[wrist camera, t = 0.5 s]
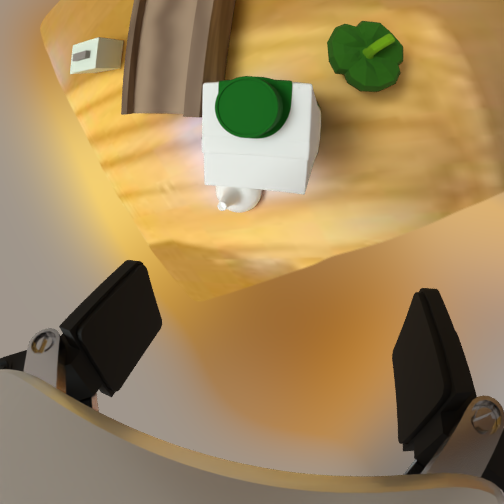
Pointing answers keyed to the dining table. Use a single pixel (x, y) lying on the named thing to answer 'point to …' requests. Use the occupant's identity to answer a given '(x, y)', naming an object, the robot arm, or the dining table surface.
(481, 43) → the dining table surface
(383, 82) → the bell pepper
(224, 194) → the garlic bulb
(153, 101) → the shelf
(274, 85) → the milk carton
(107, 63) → the cabinet
